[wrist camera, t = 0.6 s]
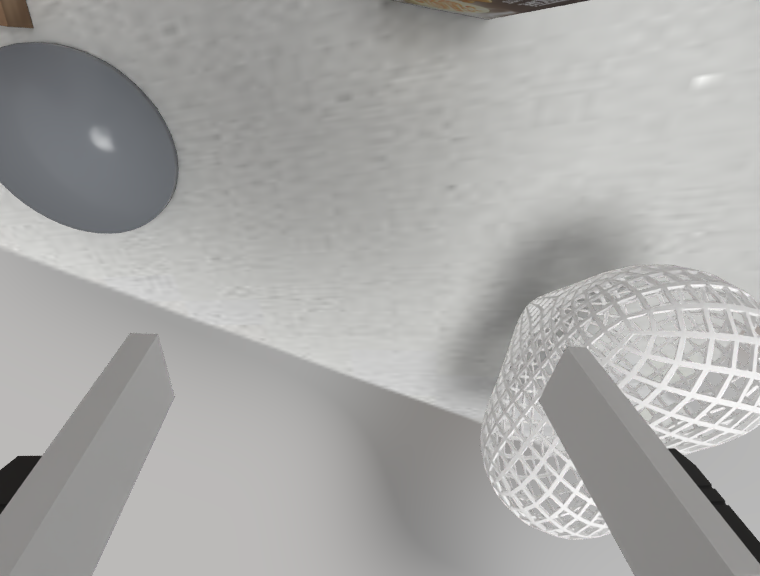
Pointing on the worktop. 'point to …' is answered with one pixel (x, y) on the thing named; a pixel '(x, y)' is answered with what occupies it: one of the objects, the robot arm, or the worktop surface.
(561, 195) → the worktop surface
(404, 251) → the worktop surface
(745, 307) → the heart
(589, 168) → the worktop surface
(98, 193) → the plate
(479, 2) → the coffee box
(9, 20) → the frame
